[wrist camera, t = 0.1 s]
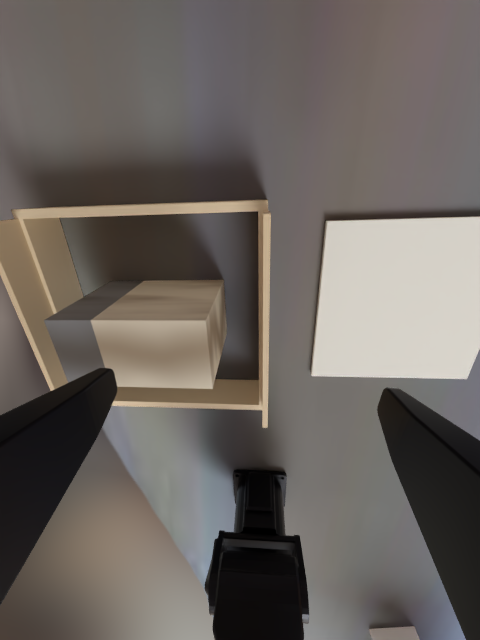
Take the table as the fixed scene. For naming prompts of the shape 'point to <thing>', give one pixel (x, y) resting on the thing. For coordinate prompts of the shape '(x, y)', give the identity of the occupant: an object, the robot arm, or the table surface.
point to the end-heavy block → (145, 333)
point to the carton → (64, 289)
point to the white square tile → (399, 298)
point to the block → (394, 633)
